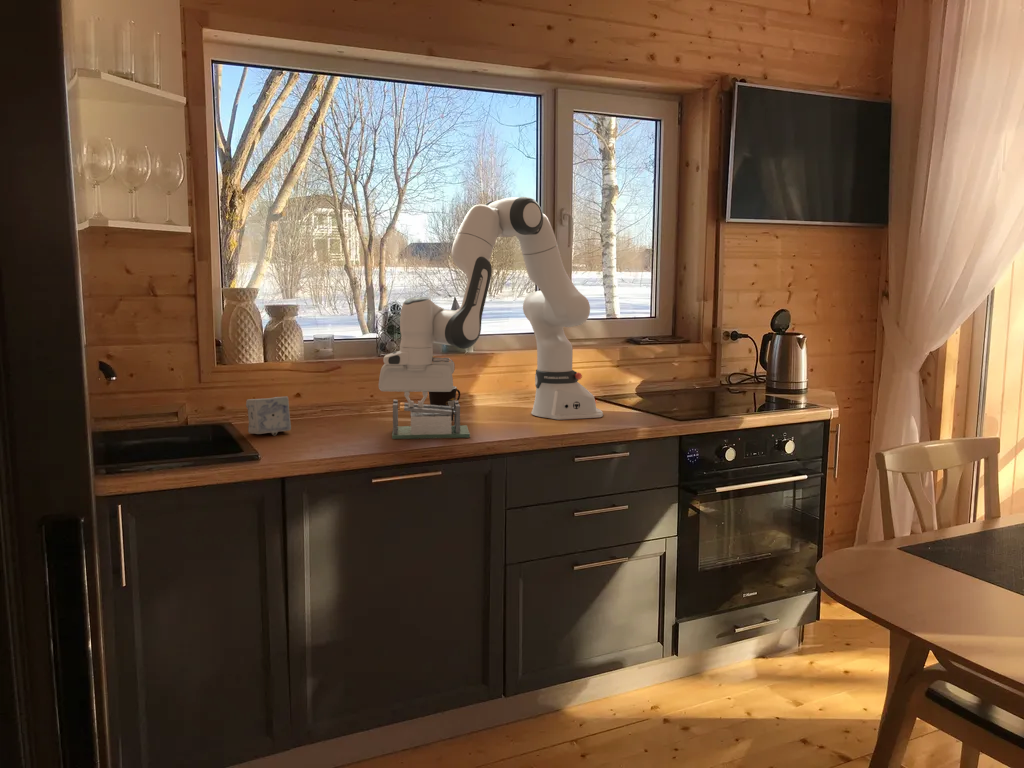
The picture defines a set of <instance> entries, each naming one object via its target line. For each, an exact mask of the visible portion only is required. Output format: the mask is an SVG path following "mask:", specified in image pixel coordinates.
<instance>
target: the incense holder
mask: <svg viewBox="0 0 1024 768" xmlns="http://www.w3.org/2000/svg"><path fill="white" fill-rule="evenodd" d="M289 402H290V400H289V396H287V395H286V396H275V397H269V398H267V397H266V398H251V399H249V398H248V399H246V402H245V403H246V404H245V406H246V409H247V417H248V434H250V435H251V434H252V435H254V434H255V435H262V434H271V435H272V436H277V434H278V433H280V432H289V431H292V430H291V429H292V425H291V424H292V423H291V415H290V405H289Z"/></svg>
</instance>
